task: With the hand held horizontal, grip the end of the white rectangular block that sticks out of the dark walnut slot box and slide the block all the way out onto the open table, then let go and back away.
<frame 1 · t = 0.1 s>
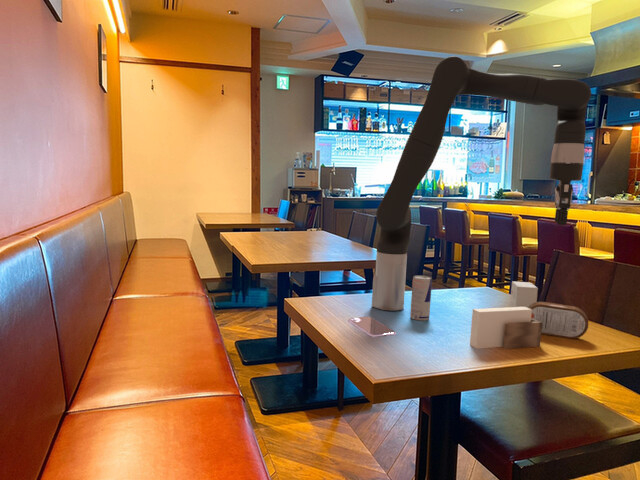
hand: (560, 223, 125), 29 cm above the table, tool pointing down, fingers open, 8 cm apart
small box: (521, 319, 138), on the table
white rectangular block: (499, 345, 115), on the table
energy drink: (419, 318, 135), on the table
tin: (554, 336, 124), on the table
slot box: (512, 343, 116), on the table
mobile phone: (370, 328, 125), on the table
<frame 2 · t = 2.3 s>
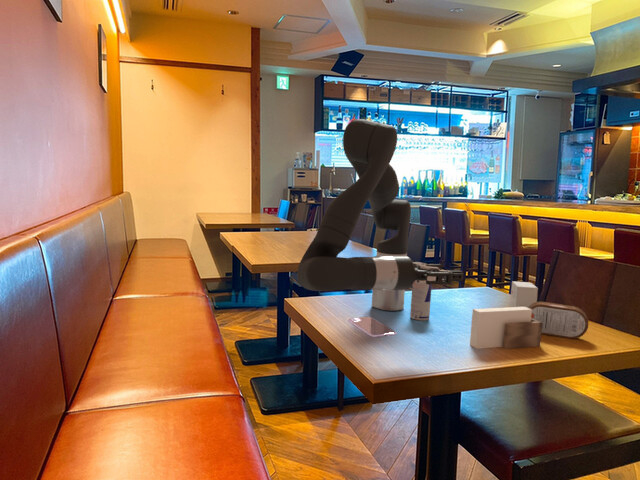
hand: (451, 272, 108), 18 cm above the table, tool horizontal, fingers open, 8 cm apart
nothing on the table moved.
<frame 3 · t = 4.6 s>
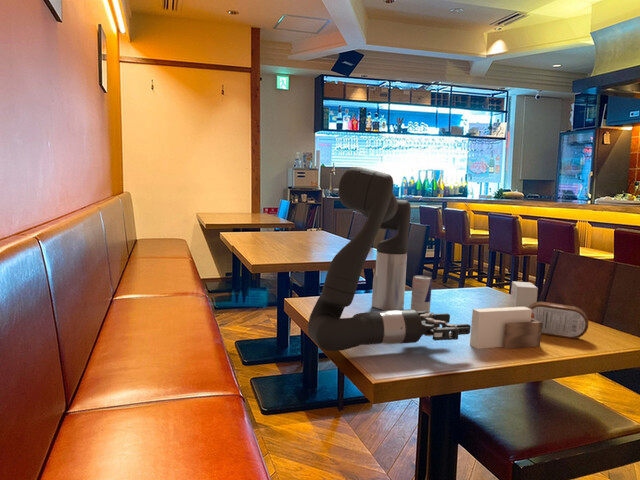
hand: (458, 323, 111), 6 cm above the table, tool horizontal, fingers open, 8 cm apart
nothing on the table moved.
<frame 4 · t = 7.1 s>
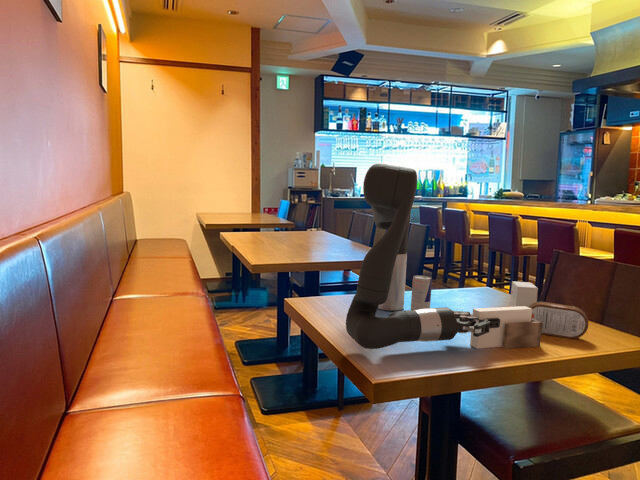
hand: (494, 320, 114), 6 cm above the table, tool horizontal, fingers closed on white rectangular block, 2 cm apart
white rectangular block: (499, 344, 115), on the table, touching gripper
everything else where it was.
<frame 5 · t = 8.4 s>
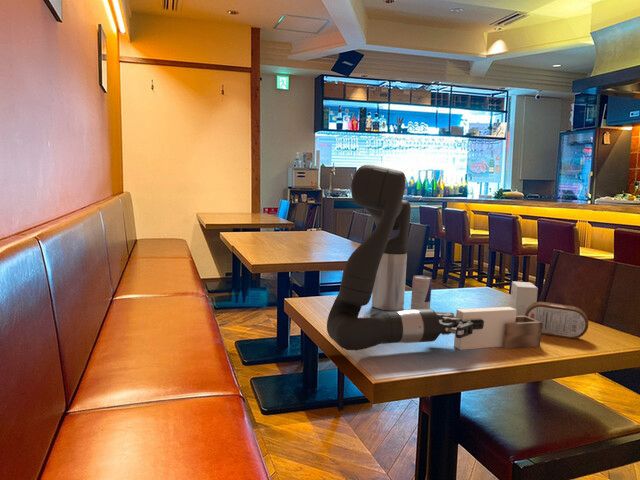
hand: (478, 321, 112), 6 cm above the table, tool horizontal, fingers closed on white rectangular block, 2 cm apart
white rectangular block: (483, 345, 114), on the table, touching gripper
everything else where it was.
when the fingers open (6 cm above the table, at t = 9.8 s): white rectangular block stays where it is, on the table.
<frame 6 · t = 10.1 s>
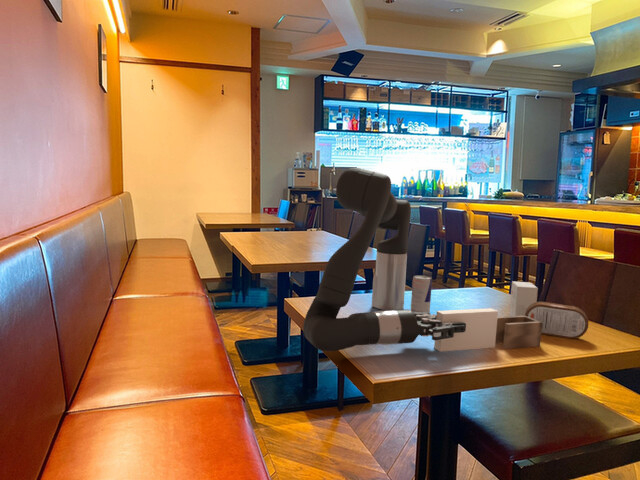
hand: (457, 323, 111), 6 cm above the table, tool horizontal, fingers open, 5 cm apart
white rectangular block: (464, 347, 112), on the table
everything else where it was.
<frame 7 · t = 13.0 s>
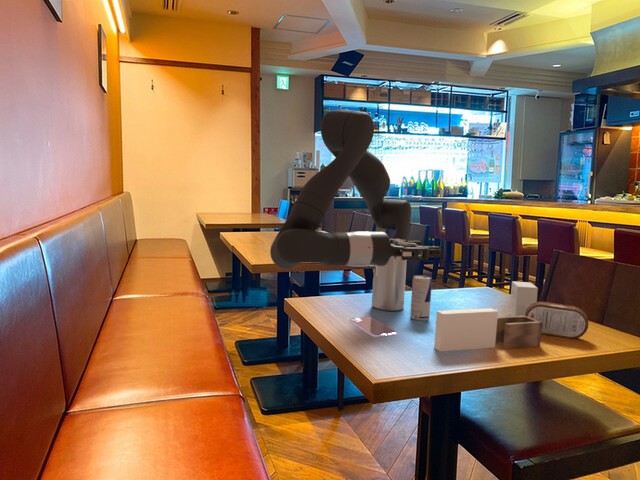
hand: (430, 248, 106), 24 cm above the table, tool horizontal, fingers open, 8 cm apart
nothing on the table moved.
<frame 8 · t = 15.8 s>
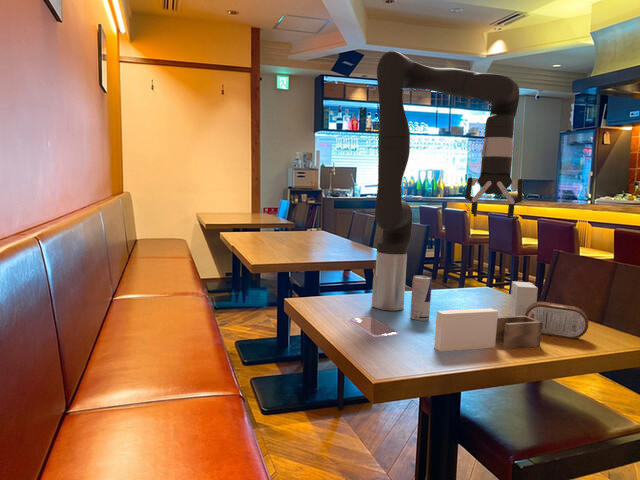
hand: (491, 217, 126), 30 cm above the table, tool pointing down, fingers open, 8 cm apart
nothing on the table moved.
at the end: white rectangular block inside the target area (2.1 cm from its centre), on the table; white rectangular block tilted 0°; the gripper is holding nothing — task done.
